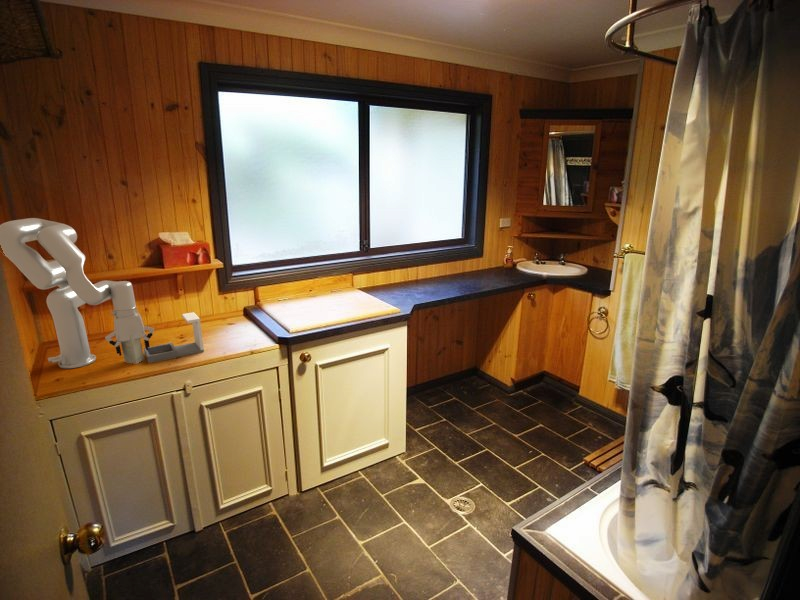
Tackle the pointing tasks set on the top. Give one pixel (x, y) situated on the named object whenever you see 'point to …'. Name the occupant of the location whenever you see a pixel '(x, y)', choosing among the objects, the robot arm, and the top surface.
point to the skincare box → (132, 351)
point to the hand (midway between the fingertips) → (133, 351)
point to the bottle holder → (182, 349)
